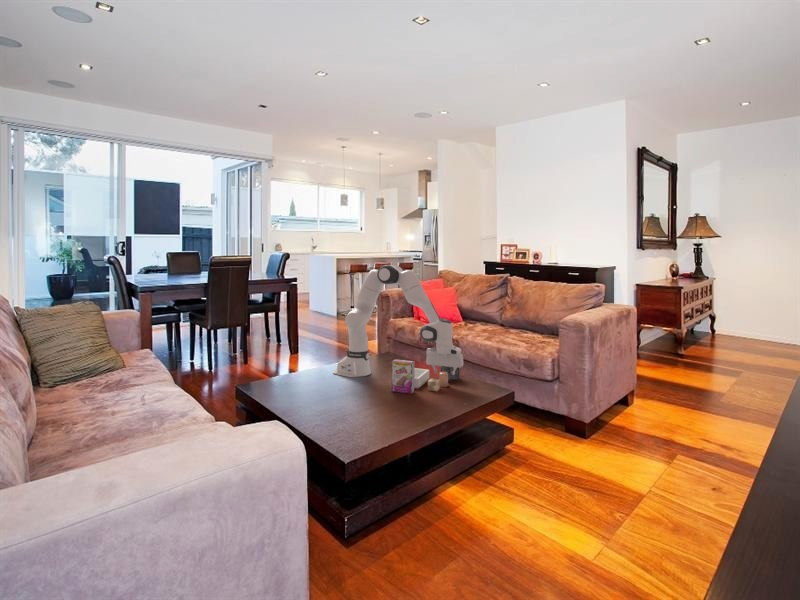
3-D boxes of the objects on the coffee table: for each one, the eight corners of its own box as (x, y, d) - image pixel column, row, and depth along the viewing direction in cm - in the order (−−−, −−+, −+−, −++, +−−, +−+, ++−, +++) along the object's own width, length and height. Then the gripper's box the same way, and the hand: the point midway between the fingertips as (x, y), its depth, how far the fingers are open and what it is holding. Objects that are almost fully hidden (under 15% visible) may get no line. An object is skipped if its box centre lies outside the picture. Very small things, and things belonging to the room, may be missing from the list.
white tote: (393, 385, 246) (393, 375, 245) (405, 376, 263) (405, 367, 262) (418, 388, 240) (418, 378, 240) (429, 379, 257) (429, 369, 257)
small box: (459, 377, 261) (459, 360, 259) (459, 381, 254) (459, 362, 253) (440, 377, 262) (440, 359, 260) (440, 380, 255) (440, 362, 254)
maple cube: (427, 390, 238) (427, 381, 238) (430, 387, 243) (430, 378, 242) (436, 391, 236) (436, 382, 236) (439, 388, 241) (439, 379, 240)
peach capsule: (437, 386, 245) (437, 373, 244) (440, 383, 249) (440, 371, 248) (446, 387, 243) (446, 374, 242) (449, 384, 247) (449, 372, 246)
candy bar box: (391, 392, 235) (391, 361, 233) (394, 389, 240) (394, 358, 238) (411, 394, 231) (411, 363, 229) (414, 391, 236) (414, 360, 234)
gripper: (424, 348, 244) (424, 373, 246) (461, 351, 237) (461, 377, 239) (428, 346, 250) (428, 370, 252) (464, 349, 243) (464, 374, 244)
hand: (444, 373), depth 245 cm, fingers open, 8 cm apart
